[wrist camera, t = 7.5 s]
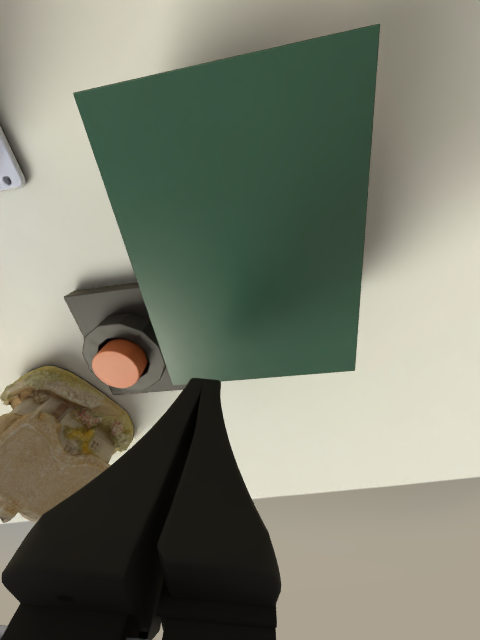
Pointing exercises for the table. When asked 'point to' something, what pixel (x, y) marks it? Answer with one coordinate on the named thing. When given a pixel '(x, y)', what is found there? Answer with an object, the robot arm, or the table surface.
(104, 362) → the button
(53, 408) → the ceramic model
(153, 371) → the switch block
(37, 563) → the robot arm
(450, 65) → the table surface
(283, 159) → the lid
